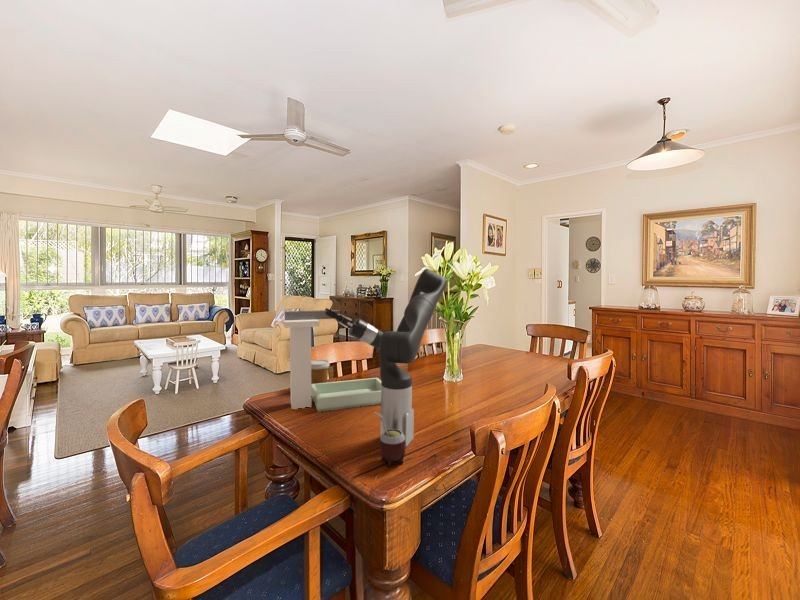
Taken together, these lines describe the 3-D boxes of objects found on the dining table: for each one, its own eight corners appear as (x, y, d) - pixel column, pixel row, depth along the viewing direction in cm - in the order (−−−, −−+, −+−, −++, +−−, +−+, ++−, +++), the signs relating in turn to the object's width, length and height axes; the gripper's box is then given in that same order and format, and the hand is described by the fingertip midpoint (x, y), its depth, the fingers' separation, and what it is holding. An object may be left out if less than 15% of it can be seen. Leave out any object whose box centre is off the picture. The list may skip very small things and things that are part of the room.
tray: (377, 388, 154) (377, 377, 154) (391, 402, 138) (391, 390, 137) (311, 396, 144) (311, 384, 144) (317, 412, 127) (317, 398, 127)
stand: (314, 397, 142) (314, 316, 140) (319, 409, 130) (319, 320, 128) (283, 401, 138) (282, 317, 135) (285, 413, 126) (284, 322, 123)
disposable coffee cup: (334, 389, 153) (334, 362, 152) (315, 394, 146) (315, 365, 145) (321, 384, 160) (321, 358, 159) (303, 389, 153) (302, 361, 152)
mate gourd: (408, 457, 97) (409, 404, 96) (399, 472, 89) (400, 415, 88) (383, 453, 99) (383, 401, 98) (372, 467, 91) (372, 411, 90)
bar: (338, 317, 138) (338, 310, 138) (339, 318, 135) (339, 310, 135) (284, 319, 131) (284, 311, 131) (285, 320, 128) (285, 312, 128)
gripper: (363, 320, 148) (327, 300, 142) (373, 325, 135) (334, 303, 129) (354, 336, 147) (318, 317, 141) (363, 342, 134) (324, 321, 128)
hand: (326, 311), depth 135 cm, fingers open, 4 cm apart
